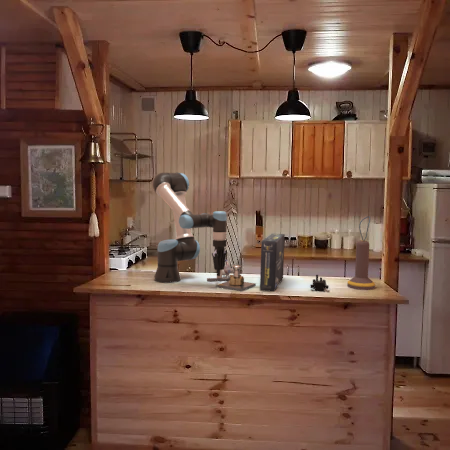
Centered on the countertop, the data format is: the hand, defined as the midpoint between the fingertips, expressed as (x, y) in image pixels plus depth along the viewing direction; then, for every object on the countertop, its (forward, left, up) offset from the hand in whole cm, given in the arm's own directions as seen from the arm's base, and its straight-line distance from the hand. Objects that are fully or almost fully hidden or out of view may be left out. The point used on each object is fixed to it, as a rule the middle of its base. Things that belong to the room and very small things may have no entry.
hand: (219, 281), depth 268 cm
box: (+23, +21, -3) cm, 31 cm away
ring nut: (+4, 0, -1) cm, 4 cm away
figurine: (-11, +25, -3) cm, 28 cm away
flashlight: (+67, +45, -3) cm, 80 cm away
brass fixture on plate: (+9, +4, -3) cm, 10 cm away
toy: (+46, +34, -3) cm, 57 cm away
